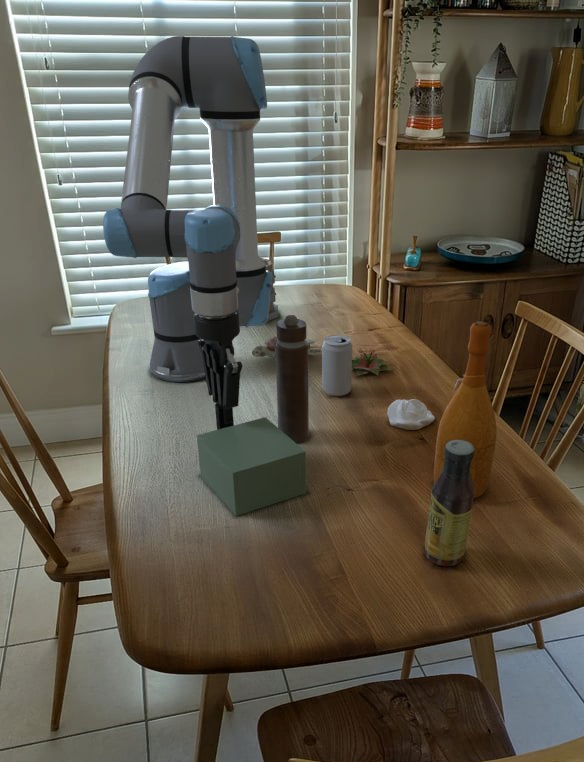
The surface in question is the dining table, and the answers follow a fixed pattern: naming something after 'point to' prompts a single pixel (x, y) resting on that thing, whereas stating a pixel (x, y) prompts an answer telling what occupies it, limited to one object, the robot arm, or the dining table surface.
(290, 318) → the pepper mill
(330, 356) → the beverage can
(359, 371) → the lily flower
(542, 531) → the dining table surface
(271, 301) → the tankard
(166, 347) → the robot arm
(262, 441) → the cabinet
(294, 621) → the dining table surface
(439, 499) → the sauce bottle
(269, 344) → the decorative turtle
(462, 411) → the wine bottle
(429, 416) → the rose
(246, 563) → the dining table surface
